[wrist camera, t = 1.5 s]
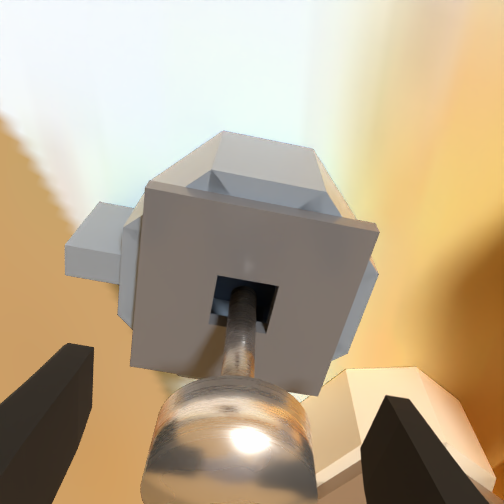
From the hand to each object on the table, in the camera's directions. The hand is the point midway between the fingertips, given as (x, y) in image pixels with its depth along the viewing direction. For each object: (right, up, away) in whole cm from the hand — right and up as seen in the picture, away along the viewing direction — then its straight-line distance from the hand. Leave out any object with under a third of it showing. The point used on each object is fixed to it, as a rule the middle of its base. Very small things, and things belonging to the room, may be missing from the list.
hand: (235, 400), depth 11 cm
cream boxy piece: (+7, -6, +14) cm, 16 cm away
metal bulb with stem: (0, +2, +4) cm, 5 cm away
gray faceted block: (0, +4, +8) cm, 9 cm away
